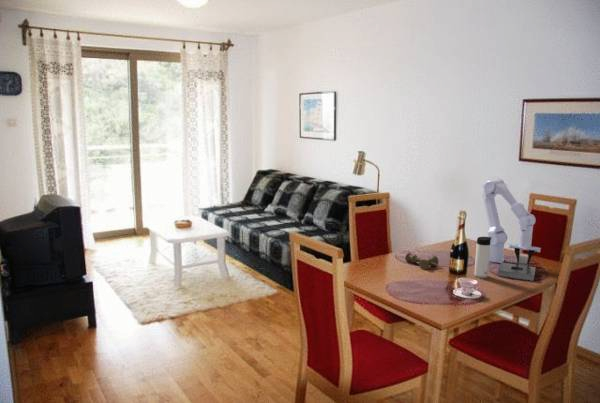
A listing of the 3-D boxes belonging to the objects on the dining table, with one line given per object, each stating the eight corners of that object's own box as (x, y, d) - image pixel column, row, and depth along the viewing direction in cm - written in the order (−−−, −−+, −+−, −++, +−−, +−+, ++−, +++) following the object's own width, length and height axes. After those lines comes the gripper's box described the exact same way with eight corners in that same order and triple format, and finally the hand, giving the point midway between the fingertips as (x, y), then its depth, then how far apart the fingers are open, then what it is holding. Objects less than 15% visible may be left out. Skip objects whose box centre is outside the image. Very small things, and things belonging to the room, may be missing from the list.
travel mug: (489, 279, 237) (492, 239, 233) (475, 278, 238) (478, 238, 235) (487, 274, 243) (490, 235, 239) (473, 273, 244) (476, 235, 241)
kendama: (413, 260, 267) (444, 268, 252) (401, 264, 261) (433, 273, 246) (413, 249, 266) (444, 257, 251) (401, 253, 260) (433, 261, 245)
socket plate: (497, 275, 242) (498, 270, 241) (500, 267, 254) (501, 262, 253) (533, 281, 234) (533, 275, 234) (534, 272, 247) (535, 267, 246)
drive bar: (518, 268, 253) (519, 255, 252) (518, 266, 256) (520, 253, 255) (526, 270, 251) (527, 256, 250) (527, 267, 254) (528, 254, 253)
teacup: (447, 293, 218) (448, 280, 217) (461, 287, 226) (462, 274, 225) (473, 301, 210) (474, 287, 209) (486, 294, 218) (487, 281, 217)
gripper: (509, 237, 250) (507, 263, 253) (541, 241, 244) (538, 267, 246) (510, 234, 257) (508, 259, 259) (541, 238, 250) (538, 263, 252)
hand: (523, 263), depth 253 cm, fingers closed on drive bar, 4 cm apart
